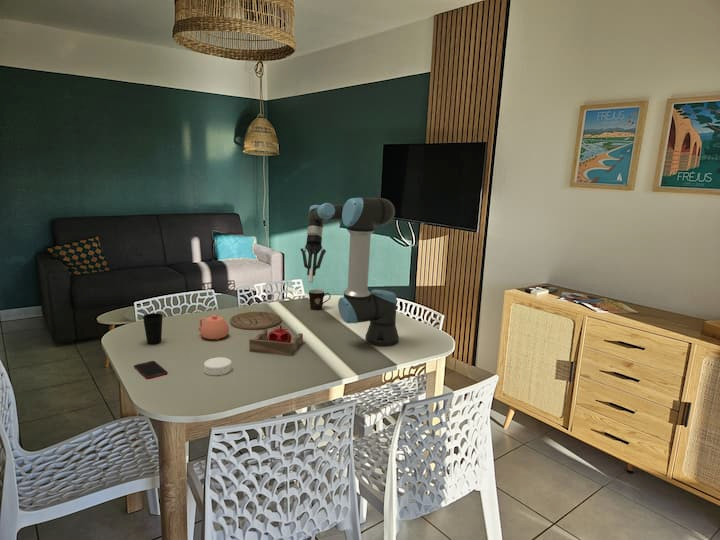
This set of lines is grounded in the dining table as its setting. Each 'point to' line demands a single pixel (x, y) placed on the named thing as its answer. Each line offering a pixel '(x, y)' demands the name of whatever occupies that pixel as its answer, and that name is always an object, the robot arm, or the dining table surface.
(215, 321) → the sugar bowl
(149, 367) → the cell phone
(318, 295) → the coffee mug
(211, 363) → the white round disc
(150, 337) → the cup
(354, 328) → the dining table surface
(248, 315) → the trivet
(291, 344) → the walnut pocket
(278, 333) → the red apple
